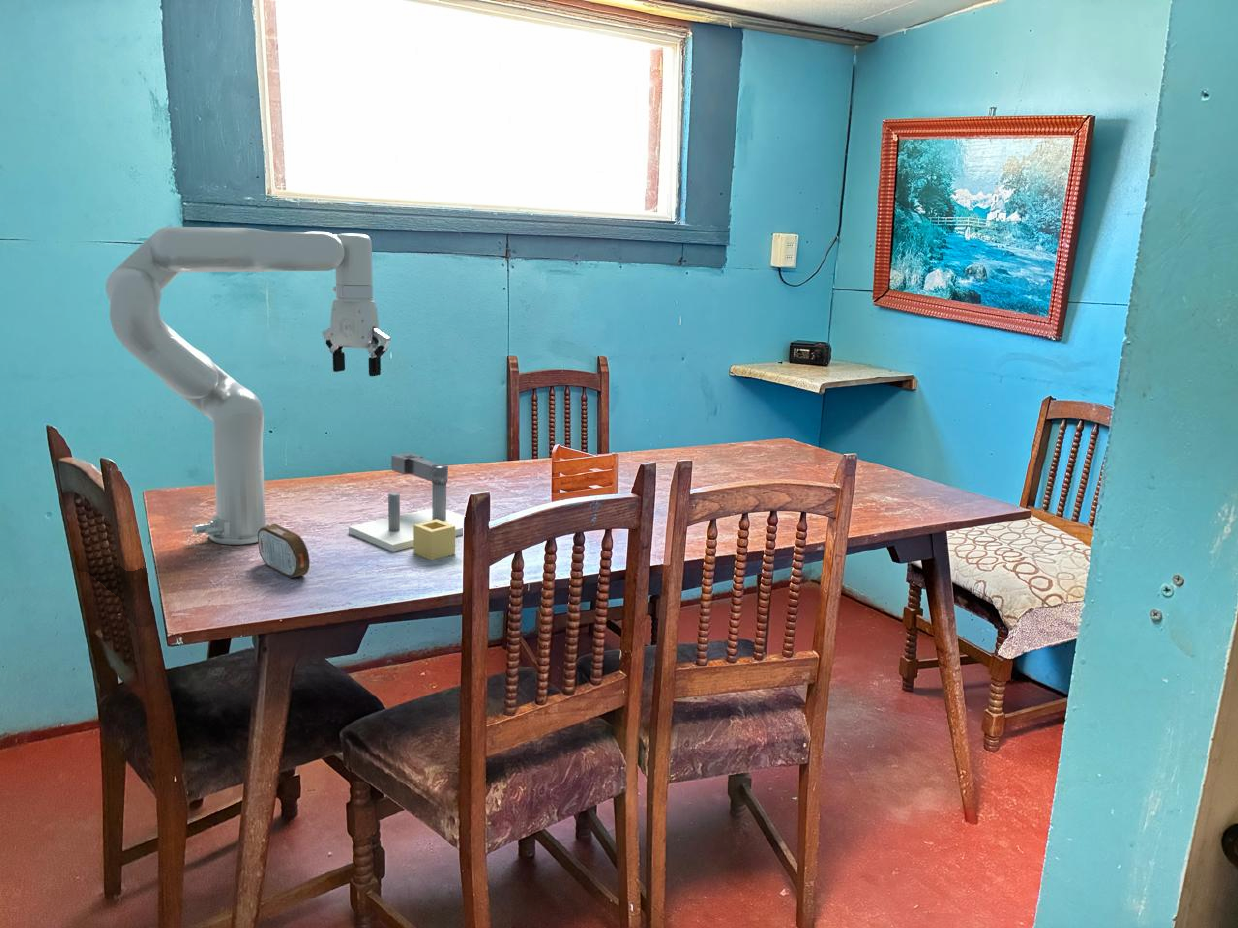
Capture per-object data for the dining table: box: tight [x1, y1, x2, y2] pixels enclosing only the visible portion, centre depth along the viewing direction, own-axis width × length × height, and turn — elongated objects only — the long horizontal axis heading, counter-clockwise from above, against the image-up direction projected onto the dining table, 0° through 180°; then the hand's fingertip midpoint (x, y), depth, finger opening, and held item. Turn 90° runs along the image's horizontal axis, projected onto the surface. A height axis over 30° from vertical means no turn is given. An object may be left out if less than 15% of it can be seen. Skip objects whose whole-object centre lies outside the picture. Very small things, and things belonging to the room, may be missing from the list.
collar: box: [412, 519, 456, 561], centre depth 192 cm, size 6×6×6 cm
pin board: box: [348, 482, 464, 553], centre depth 205 cm, size 24×16×10 cm, turn 138°
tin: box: [257, 523, 311, 579], centre depth 178 cm, size 15×3×8 cm, turn 48°
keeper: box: [390, 452, 449, 484], centre depth 212 cm, size 16×5×4 cm, turn 48°
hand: (356, 373), depth 203 cm, fingers open, 9 cm apart
